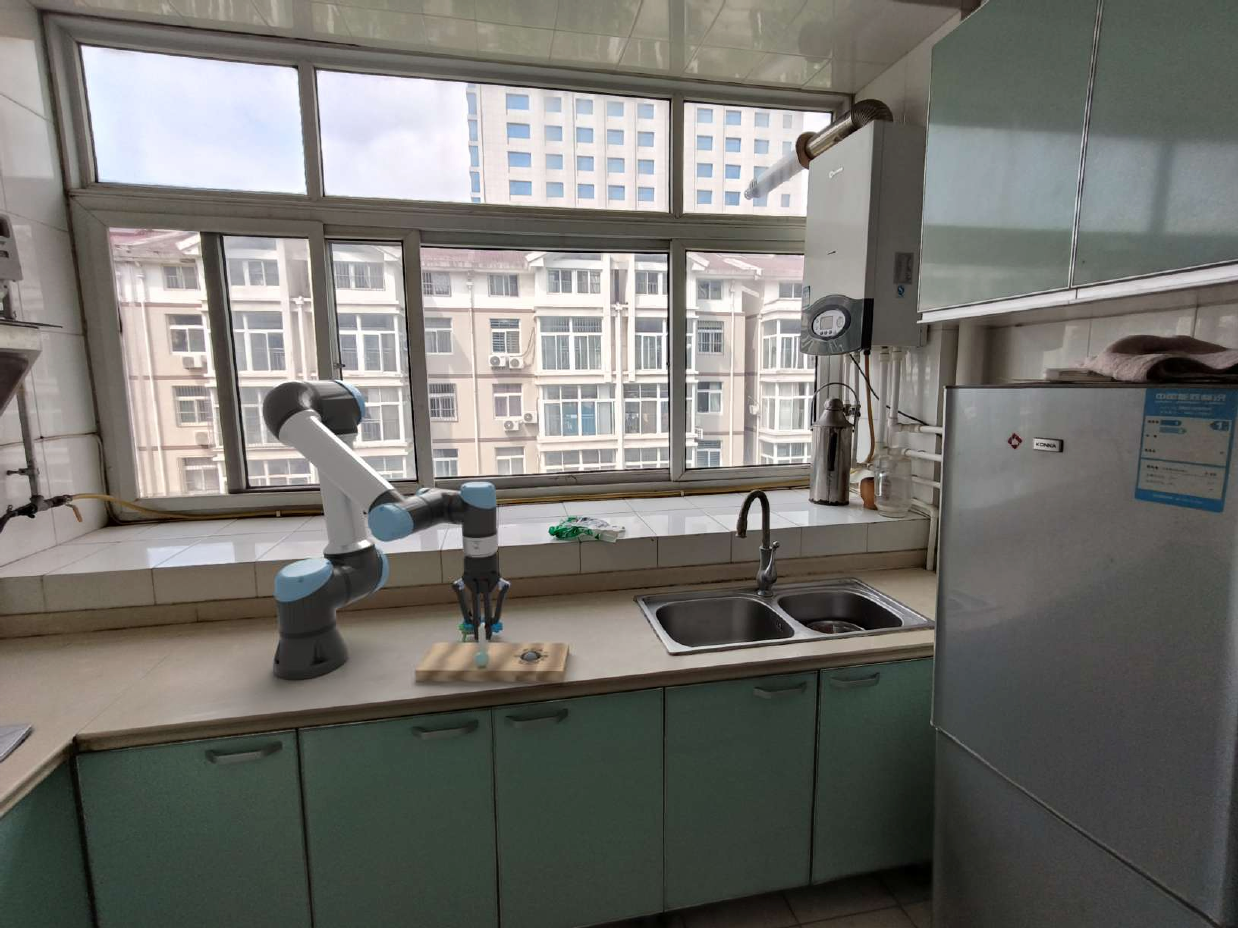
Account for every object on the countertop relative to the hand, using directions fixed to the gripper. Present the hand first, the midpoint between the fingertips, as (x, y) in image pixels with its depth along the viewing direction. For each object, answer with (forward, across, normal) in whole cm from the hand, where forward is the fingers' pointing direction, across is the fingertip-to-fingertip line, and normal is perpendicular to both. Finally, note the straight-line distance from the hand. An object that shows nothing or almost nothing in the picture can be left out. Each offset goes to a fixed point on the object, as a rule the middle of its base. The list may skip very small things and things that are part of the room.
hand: (483, 652), depth 131 cm
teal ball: (-1, +1, -5) cm, 5 cm away
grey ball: (+2, +10, 0) cm, 11 cm away
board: (+3, +3, 0) cm, 4 cm away
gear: (+4, -4, +13) cm, 14 cm away
